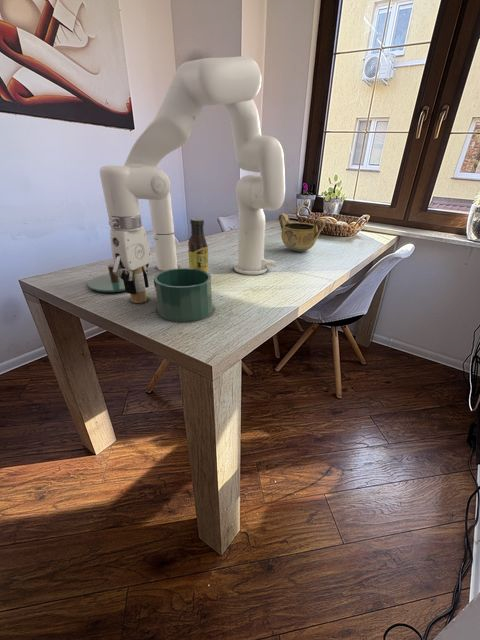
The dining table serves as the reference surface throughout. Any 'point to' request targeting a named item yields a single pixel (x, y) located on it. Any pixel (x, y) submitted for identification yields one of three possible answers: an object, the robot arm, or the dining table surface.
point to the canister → (183, 294)
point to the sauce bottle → (198, 246)
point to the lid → (107, 282)
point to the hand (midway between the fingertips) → (137, 289)
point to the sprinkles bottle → (138, 286)
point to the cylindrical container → (163, 233)
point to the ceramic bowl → (299, 234)
